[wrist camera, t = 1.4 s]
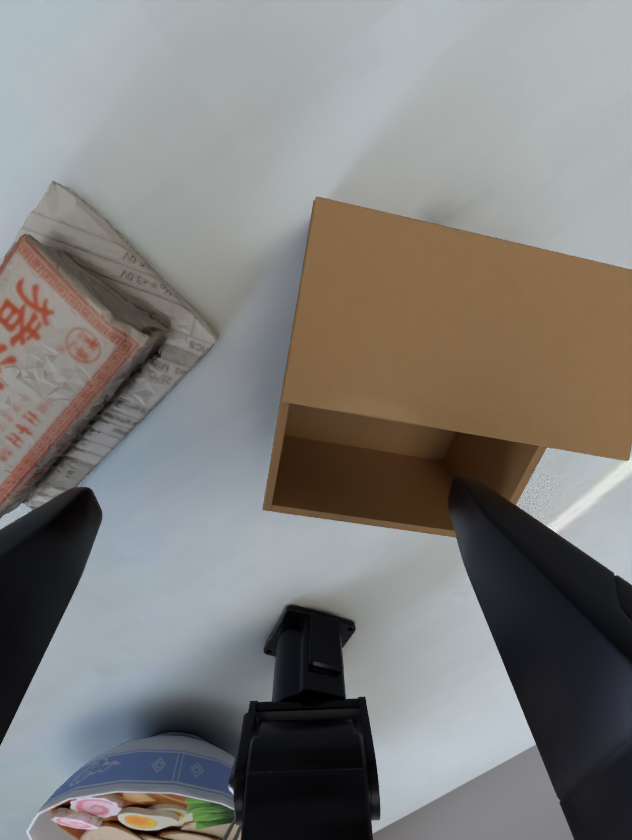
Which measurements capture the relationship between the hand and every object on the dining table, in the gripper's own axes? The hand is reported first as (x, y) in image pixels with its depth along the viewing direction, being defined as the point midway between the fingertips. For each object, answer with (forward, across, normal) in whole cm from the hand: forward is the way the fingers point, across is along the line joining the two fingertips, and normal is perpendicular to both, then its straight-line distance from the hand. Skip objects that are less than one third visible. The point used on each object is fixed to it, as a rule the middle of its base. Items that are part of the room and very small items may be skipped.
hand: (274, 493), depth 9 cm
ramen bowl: (+9, +15, +46) cm, 50 cm away
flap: (+5, -6, -2) cm, 8 cm away
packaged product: (+14, +14, +2) cm, 20 cm away
